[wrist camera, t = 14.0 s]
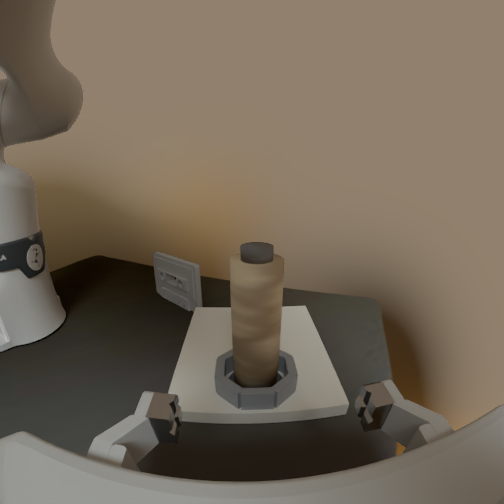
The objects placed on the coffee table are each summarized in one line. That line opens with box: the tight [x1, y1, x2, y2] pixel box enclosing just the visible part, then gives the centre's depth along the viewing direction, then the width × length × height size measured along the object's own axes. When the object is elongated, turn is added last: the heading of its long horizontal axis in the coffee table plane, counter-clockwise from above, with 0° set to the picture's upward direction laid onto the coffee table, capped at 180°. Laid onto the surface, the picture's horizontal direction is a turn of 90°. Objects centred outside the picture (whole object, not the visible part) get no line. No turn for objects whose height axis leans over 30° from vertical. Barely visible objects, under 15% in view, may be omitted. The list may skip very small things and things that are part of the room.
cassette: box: [153, 251, 202, 312], centre depth 43 cm, size 12×2×8 cm, turn 51°
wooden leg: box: [230, 242, 284, 388], centre depth 22 cm, size 4×4×13 cm
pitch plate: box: [168, 306, 349, 424], centre depth 29 cm, size 16×20×10 cm
